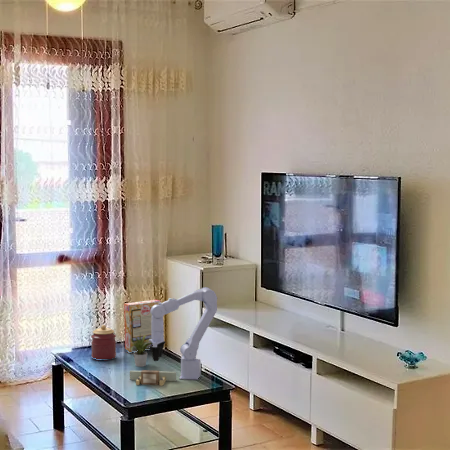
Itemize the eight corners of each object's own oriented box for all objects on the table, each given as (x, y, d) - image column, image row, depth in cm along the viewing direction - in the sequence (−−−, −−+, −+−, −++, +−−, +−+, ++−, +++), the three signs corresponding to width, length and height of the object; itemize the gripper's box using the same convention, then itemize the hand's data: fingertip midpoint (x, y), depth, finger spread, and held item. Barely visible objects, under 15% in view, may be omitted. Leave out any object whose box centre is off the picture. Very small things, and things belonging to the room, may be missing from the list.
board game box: (156, 346, 408) (156, 299, 406) (162, 348, 403) (162, 300, 401) (124, 351, 396) (123, 302, 394) (129, 354, 391) (129, 304, 389)
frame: (159, 383, 336) (159, 370, 336) (158, 385, 333) (158, 372, 332) (142, 382, 337) (142, 370, 336) (141, 384, 334) (141, 371, 333)
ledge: (176, 380, 341) (176, 371, 340) (172, 385, 331) (172, 377, 331) (130, 378, 343) (130, 370, 343) (125, 384, 333) (125, 376, 333)
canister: (86, 357, 383) (86, 324, 382) (107, 353, 391) (107, 321, 390) (100, 362, 373) (99, 328, 372) (121, 358, 382) (120, 325, 381)
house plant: (133, 371, 356) (133, 338, 355) (120, 365, 368) (119, 333, 367) (158, 366, 365) (158, 334, 364) (144, 360, 376) (144, 330, 375)
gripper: (152, 327, 348) (152, 354, 349) (146, 333, 334) (146, 362, 335) (166, 327, 347) (166, 355, 348) (161, 333, 333) (161, 362, 334)
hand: (157, 358), depth 341 cm, fingers open, 7 cm apart
